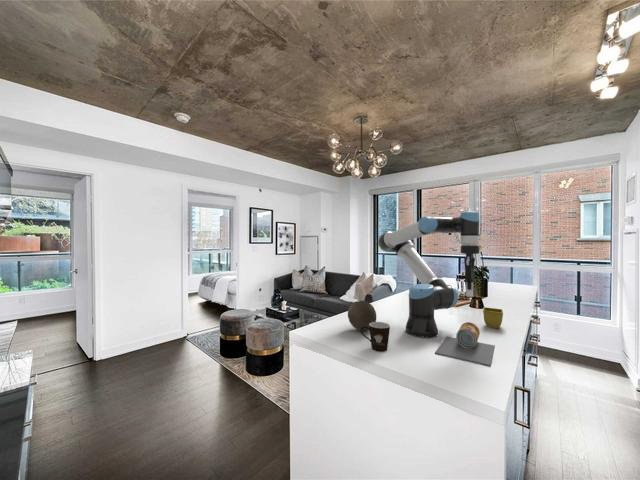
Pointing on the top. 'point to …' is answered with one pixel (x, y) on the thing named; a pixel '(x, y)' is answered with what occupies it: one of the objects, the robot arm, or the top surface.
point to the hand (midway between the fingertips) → (469, 296)
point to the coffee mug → (378, 335)
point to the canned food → (468, 335)
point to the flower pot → (492, 317)
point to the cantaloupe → (361, 314)
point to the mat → (466, 351)
